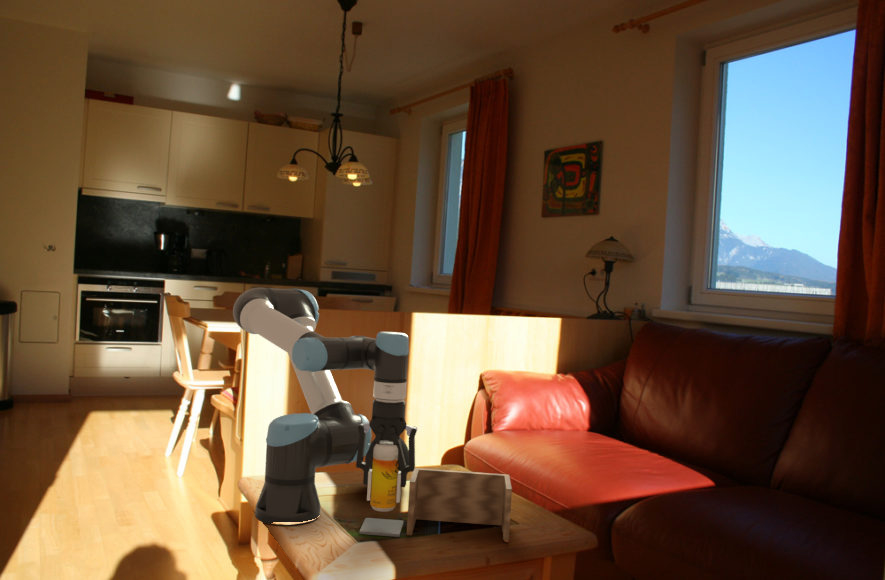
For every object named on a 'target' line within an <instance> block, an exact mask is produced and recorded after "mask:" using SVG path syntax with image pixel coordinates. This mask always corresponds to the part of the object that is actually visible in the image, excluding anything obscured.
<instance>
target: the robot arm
mask: <svg viewBox="0 0 885 580" xmlns="http://www.w3.org/2000/svg"><path fill="white" fill-rule="evenodd" d="M232 308H233V309H232V316H233V320H234V321H235V323H236V324H237V326H239V328H240V329H242V330H243V331H245V332H247V333H248V334H251V335H259V336H260V337H262V338H264V339H265V340H267V341H268V342H270V343H271V344H273V345H275V346H276V347H278V348H280V349H281V350H282V351H284V352H286V353H287V355H288V357H289V360H290V362H291V365H292V368H293V370H294V372H295V374H296V378H297V380H298V383H299V385H300V388H301V391H302V393H303V396H304V398H305V401H306V403H307V406H308V408H309V411H310V413H308V412H302V413H301V412H300V413H297V412H295V413H289V414H288V413H287V414H283V415H279V416H278V417H275V418H274V419H273V420H272V421H270V423H269V425H268V428H267V434H266V439H265V442H266V453H265V472H264V483H263V486H262V488H261V490H260V491H261V492H260V494H259V497H258V498H257V499H258V500H257V502H256V504H255V513H254V514H255V515H254V517H255V519H257V520H258V521H259V522H262V523H264V524H266V525H272V524H271V523H273V522H303V521H308V520H312V519H315V518H317V517H318V516H319V515H320V516H321V508H322V507H321V505H322V504H321V502H320V499H319V493H318V490H317V487H316V483H315V482H316V469H317V468H324V467H330V466H336V465H344V464H345V465H347V464H352V463H354V462H356V464H355V467H356V468H357V469H361V470H362V471H363V477H362V479H363V480H362V483H363V485H365V486H367V490H366V491H367V492H366V493H367V494H366V501H369V502H370V499H371V481H372V469H370V467H371V464H372V461H373V452H374V447H375V445H376V444H379V442H380V440H382V441H383V440H389V441H393V444H394V445H397V448H398V462H399V466H400V470H401V471H399V472H398V477H397V495H396V503H397V504H398V503H399V504H400V502H401V498H402V488H406V485H407V480H408V479H407V477H408V474H409V473H410V472H412V473H413V471H414V469H415V468H416V435H417V431H418V427H417V426H416V425H415V426H411V425H408V424H407V422H406V418H405V417H406V405H407V404H406V401H405V399H406V398H407V385H408V384H407V383H408V381H407V379H408V369H409V368H408V363H409V354H410V349H409V336H408V334H406V333H404V332H397V331H379V332H378V333H377V334H376V338H374V337H373V338H372V337H367V336H365V335H352V336H349V337H345V336H344V337H339V336H338V337H336V336H335V337H326V336H323V335H322V334H319V333H318V332H315V331H316V327H317V324H318V321H319V318H320V313H319V312H318V311H319V310H320V308H319V304H318V302H317V300H316V297H314V295H313V294H312V293H311V292H309V291H307V290H305V289H299V288H273V287H272V288H271V287H254V288H250V289H247V290H245V291H244V292H243V293H241V294H240V295H239V296H238V297H237V299H236V300H235V302H234V304H233V307H232ZM360 369H361V370H369V371H373V372H374V377H373V393H372V396H373V398H374V399H373V400H372V411H371V419H370V421H369V419H368V418H367V417H366V416H365V415H363V414H360V413H357V414H356V413H355V411H354V409H353V406H352V404H351V403H350V402H349V401H345V400H343V398H342V396H341V393H340V392H339V389H338V386H337V384H336V381H335V380H334V377H333V375H332V372H331V371H338V370H340V371H342V370H360ZM404 431H406V435H407V437H408V450H409V465H408V466H406V462H405V458H404V454H403V450H402V446H401V441H400V438H401V437H400V436H401V435H402V433H404ZM372 433H373V434H374V435H375V437H374V439H373V440H374V442H373V445H372V448H371V450H370V453H369V455H368V458H367V461H366V463H365V461H364V459H365V456H366V454H367V452H368V450H369V447H370V444H371V442H372V441H371V440H372Z"/></svg>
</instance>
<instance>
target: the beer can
mask: <svg viewBox="0 0 885 580" xmlns="http://www.w3.org/2000/svg"><path fill="white" fill-rule="evenodd" d="M398 472H399V462H398V448H397V445H394V444H393V441H389V440H383V441H382V440H381V441H380V442H379V444H376V445H375V447H374V452H373V463H372V481H371V499H370V501H369V504H370V506H371V508H372V510H374V511H377V512H391V511H394V510H395V508H396V507H397V505H398V503H396V495H397V477H398Z"/></svg>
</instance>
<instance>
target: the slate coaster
mask: <svg viewBox="0 0 885 580" xmlns="http://www.w3.org/2000/svg"><path fill="white" fill-rule="evenodd" d="M403 525H404V520H400V519H390V518H389V519H388V518H387V519H385V518H377V517H376V518H374V517H365V519H364V520H363V522H362V525H361V527H360V529H359V532H358V533H359V535H370V536H382V537H383V536H385V537H395V538H396V537H397V538H400V535H401V533H402V529H403Z"/></svg>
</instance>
